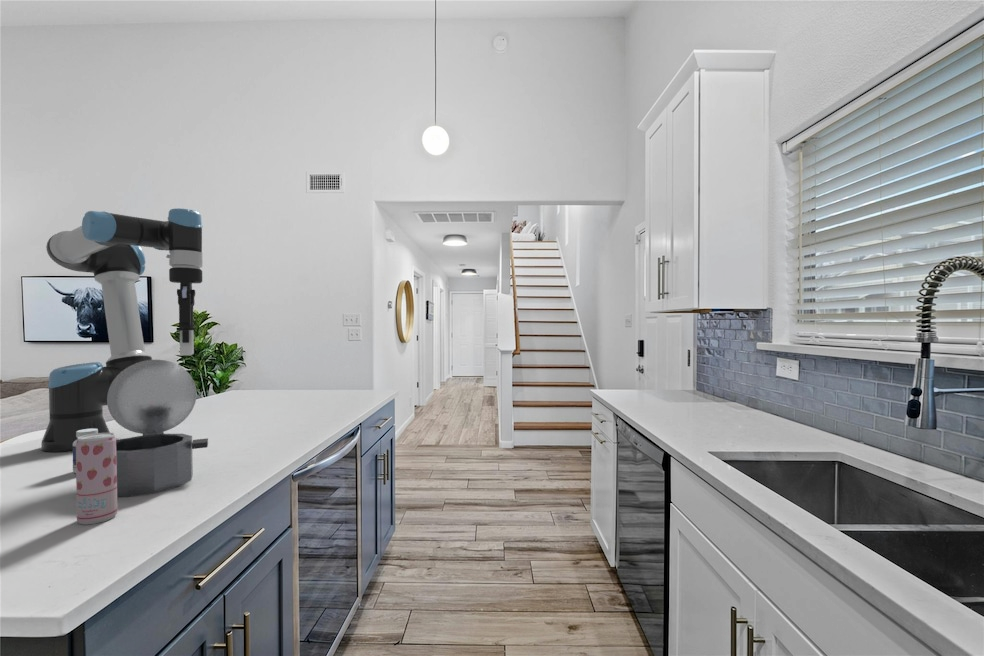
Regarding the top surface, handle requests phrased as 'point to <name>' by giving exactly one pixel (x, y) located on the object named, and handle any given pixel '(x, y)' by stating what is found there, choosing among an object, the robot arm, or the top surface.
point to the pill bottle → (78, 434)
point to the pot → (154, 463)
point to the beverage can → (96, 478)
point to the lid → (151, 397)
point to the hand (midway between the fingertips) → (187, 354)
